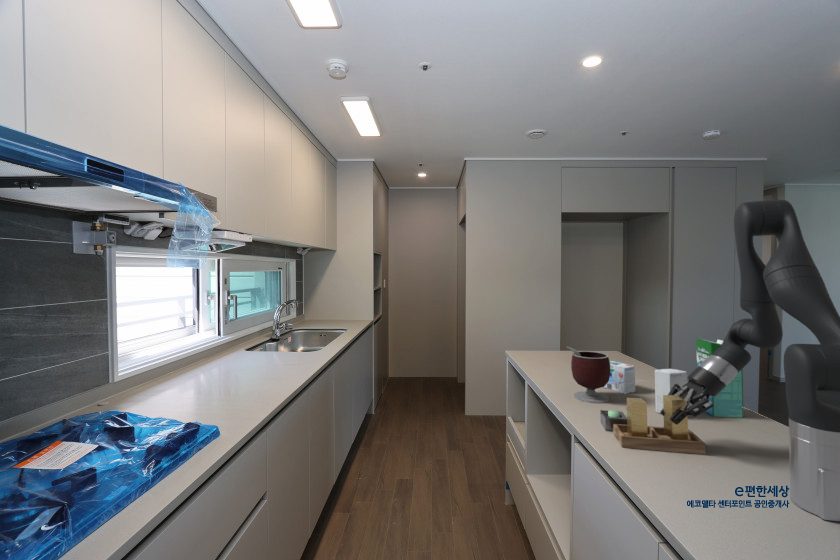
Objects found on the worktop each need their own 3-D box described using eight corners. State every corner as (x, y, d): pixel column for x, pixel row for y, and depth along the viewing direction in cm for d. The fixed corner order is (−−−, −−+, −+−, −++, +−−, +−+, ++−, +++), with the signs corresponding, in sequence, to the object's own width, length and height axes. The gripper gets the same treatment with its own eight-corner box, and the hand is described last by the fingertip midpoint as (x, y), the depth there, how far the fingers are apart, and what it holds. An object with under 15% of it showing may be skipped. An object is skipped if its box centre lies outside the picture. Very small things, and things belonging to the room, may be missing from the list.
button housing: (628, 432, 109) (628, 419, 109) (605, 430, 111) (605, 417, 111) (622, 423, 115) (622, 411, 115) (600, 422, 117) (600, 410, 117)
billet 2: (688, 439, 98) (687, 399, 98) (672, 439, 99) (671, 400, 99) (678, 433, 102) (677, 395, 102) (664, 433, 103) (663, 395, 103)
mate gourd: (606, 393, 145) (605, 344, 145) (614, 405, 132) (613, 351, 132) (565, 390, 150) (564, 343, 149) (569, 402, 136) (568, 349, 136)
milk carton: (743, 418, 118) (742, 342, 117) (712, 416, 119) (711, 342, 119) (726, 408, 126) (724, 337, 126) (697, 406, 128) (696, 337, 128)
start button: (621, 427, 111) (620, 414, 111) (609, 426, 112) (609, 413, 112) (618, 422, 114) (617, 410, 114) (607, 422, 115) (606, 409, 115)
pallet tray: (705, 454, 95) (705, 443, 95) (622, 447, 100) (621, 436, 100) (689, 439, 104) (688, 429, 104) (613, 433, 109) (612, 423, 109)
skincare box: (670, 418, 119) (670, 373, 119) (654, 411, 125) (653, 369, 125) (689, 414, 121) (688, 371, 121) (672, 408, 127) (671, 367, 127)
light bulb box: (601, 387, 153) (601, 362, 153) (612, 384, 156) (611, 360, 156) (625, 394, 143) (624, 367, 143) (636, 391, 146) (635, 365, 146)
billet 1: (647, 442, 100) (646, 403, 100) (631, 440, 101) (630, 402, 101) (642, 435, 104) (641, 398, 104) (627, 434, 105) (626, 397, 105)
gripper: (685, 360, 107) (644, 400, 108) (721, 372, 93) (673, 419, 94) (704, 377, 107) (662, 418, 108) (743, 393, 92) (695, 439, 93)
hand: (668, 418), depth 101 cm, fingers closed on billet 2, 4 cm apart
